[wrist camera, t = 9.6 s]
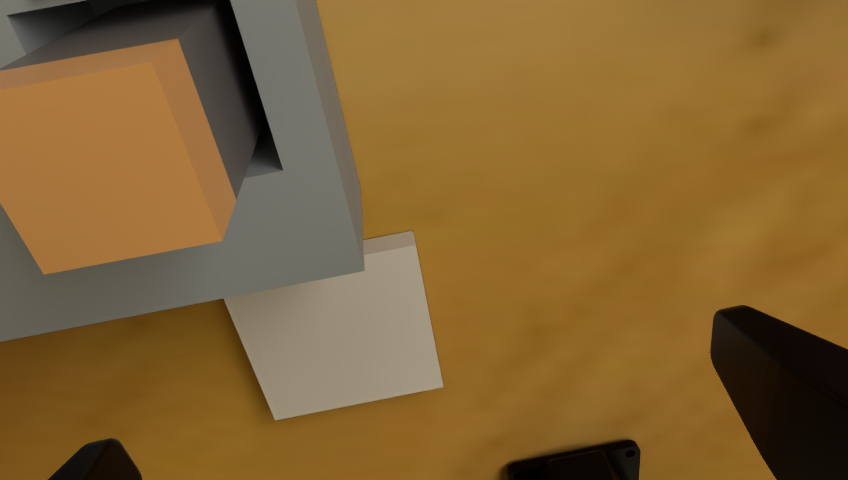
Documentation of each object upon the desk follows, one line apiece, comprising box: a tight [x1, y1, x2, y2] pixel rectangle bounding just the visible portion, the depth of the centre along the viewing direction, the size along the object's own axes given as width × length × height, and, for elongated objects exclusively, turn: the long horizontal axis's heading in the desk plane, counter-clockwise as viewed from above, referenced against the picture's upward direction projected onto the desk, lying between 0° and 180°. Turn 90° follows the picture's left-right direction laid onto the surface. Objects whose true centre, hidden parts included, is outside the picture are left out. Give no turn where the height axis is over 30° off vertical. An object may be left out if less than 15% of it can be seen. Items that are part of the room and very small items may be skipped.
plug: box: [0, 0, 266, 275], centre depth 13 cm, size 3×3×8 cm
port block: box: [0, 0, 365, 342], centre depth 15 cm, size 11×14×5 cm
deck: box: [223, 231, 443, 420], centre depth 23 cm, size 7×7×1 cm
